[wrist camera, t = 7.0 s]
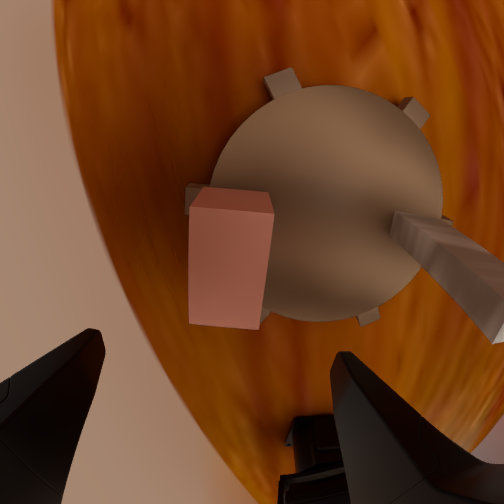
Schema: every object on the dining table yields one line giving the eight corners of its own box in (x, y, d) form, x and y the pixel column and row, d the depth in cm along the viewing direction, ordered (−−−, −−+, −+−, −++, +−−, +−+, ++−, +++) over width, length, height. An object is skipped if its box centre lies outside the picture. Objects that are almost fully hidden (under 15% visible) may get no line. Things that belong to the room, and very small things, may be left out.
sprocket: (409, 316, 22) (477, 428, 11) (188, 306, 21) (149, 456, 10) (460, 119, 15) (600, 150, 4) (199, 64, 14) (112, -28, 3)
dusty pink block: (268, 192, 16) (274, 214, 12) (256, 288, 18) (258, 329, 15) (203, 186, 16) (189, 206, 12) (199, 283, 18) (188, 323, 14)
